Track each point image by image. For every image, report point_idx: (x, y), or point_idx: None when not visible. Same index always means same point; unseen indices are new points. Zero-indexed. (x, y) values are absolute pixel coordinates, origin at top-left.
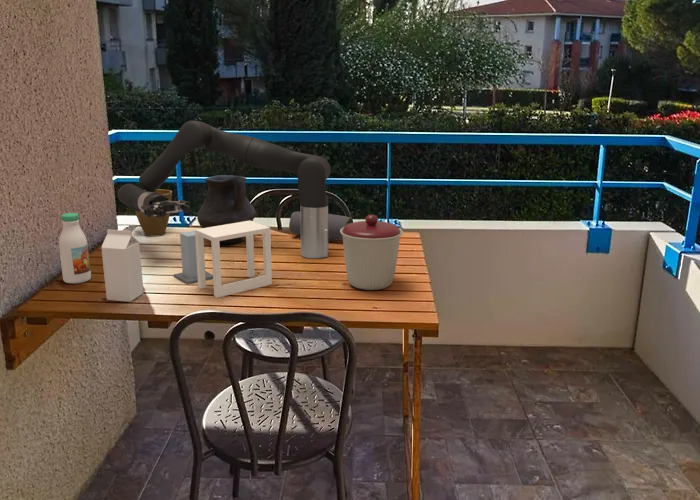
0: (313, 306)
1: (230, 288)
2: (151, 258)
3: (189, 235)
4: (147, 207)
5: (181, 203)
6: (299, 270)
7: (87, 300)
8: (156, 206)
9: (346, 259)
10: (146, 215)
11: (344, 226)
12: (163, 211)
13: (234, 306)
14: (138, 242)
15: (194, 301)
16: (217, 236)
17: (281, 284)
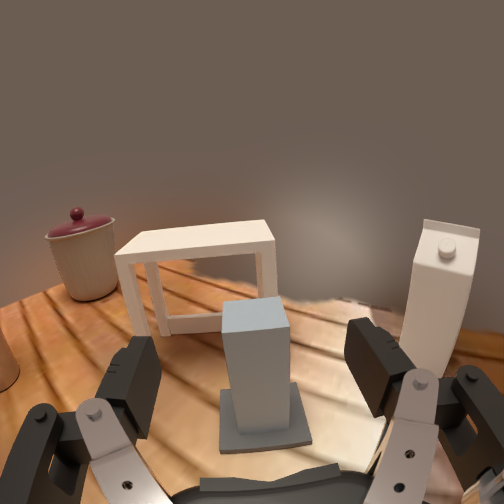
0: (186, 280)
1: None
2: None
3: (269, 301)
4: (490, 417)
5: (100, 424)
6: (80, 350)
7: (480, 359)
8: (410, 422)
9: (106, 260)
10: (465, 424)
11: None
12: (348, 323)
13: None
14: (414, 260)
15: (308, 323)
16: (254, 220)
17: (153, 326)
